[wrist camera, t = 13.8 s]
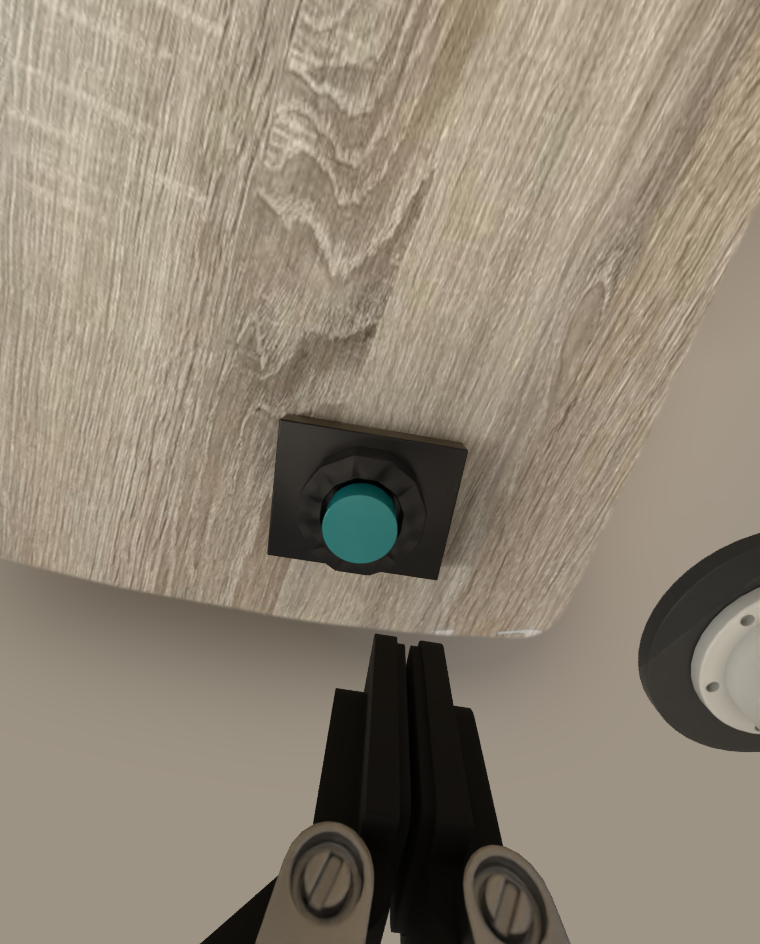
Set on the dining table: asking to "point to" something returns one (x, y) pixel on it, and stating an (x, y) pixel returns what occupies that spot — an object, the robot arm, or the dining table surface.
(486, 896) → the robot arm
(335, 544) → the button
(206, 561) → the dining table surface
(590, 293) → the dining table surface
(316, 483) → the button block
